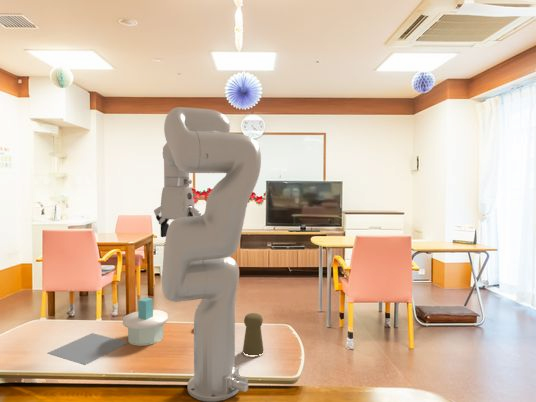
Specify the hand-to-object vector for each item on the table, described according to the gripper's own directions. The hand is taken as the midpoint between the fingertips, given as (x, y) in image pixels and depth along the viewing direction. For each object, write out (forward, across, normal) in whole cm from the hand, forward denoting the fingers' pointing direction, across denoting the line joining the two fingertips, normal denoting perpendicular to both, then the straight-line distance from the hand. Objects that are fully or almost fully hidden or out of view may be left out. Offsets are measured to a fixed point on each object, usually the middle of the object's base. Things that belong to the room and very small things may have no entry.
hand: (177, 237), depth 122 cm
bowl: (+30, +5, +9) cm, 32 cm away
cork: (+31, -28, +2) cm, 41 cm away
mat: (+30, +15, +21) cm, 40 cm away
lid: (+24, +5, +9) cm, 26 cm away
